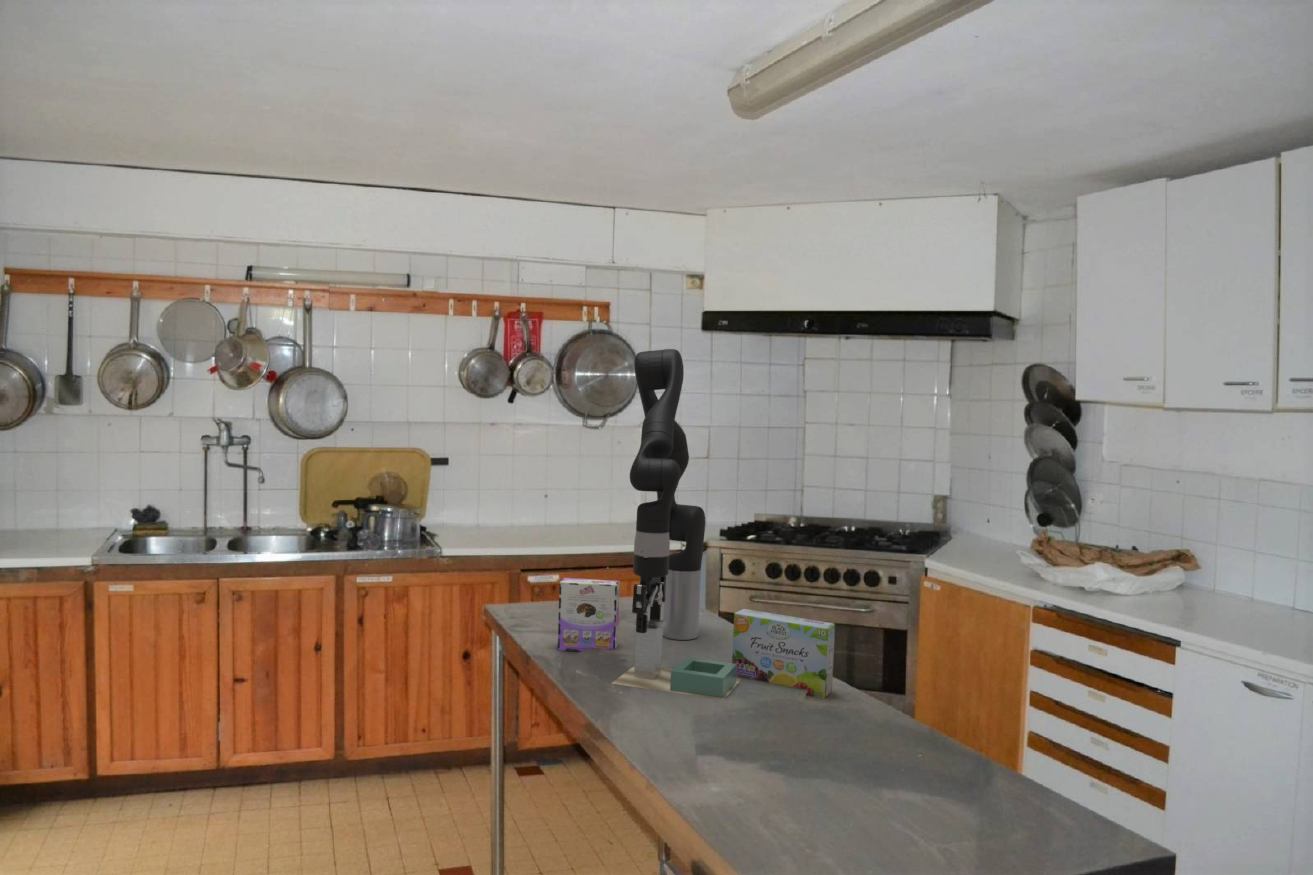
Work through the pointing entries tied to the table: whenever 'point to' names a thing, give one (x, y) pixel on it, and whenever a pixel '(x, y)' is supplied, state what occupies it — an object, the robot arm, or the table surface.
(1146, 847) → the table surface
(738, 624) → the snack box
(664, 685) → the board
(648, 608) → the robot arm
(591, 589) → the candy box
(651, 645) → the stepped grey pillar
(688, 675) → the teal hollow square frame
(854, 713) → the table surface
